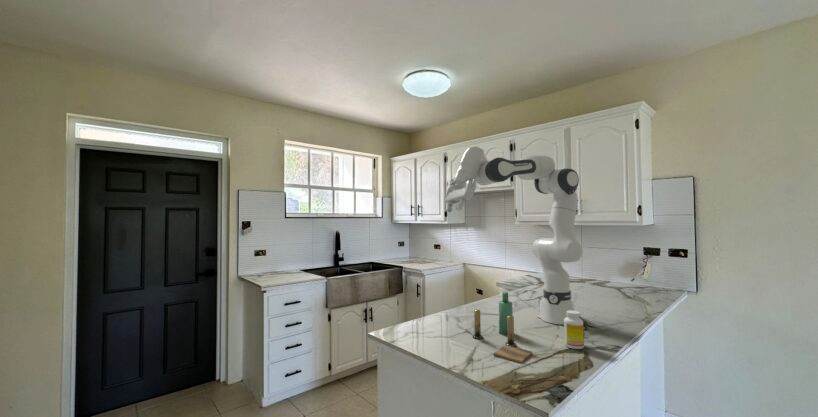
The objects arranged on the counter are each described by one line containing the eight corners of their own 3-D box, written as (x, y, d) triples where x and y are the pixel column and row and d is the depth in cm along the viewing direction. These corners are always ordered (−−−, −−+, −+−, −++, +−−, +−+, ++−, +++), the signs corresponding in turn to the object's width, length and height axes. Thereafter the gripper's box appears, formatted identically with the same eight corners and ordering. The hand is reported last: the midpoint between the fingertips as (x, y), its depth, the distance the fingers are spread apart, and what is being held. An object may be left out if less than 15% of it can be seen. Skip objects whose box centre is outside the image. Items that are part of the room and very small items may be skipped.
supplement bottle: (587, 349, 121) (586, 314, 122) (569, 349, 122) (568, 314, 122) (578, 343, 128) (577, 309, 129) (561, 343, 128) (560, 309, 129)
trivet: (505, 347, 124) (505, 345, 124) (532, 353, 118) (531, 351, 118) (493, 355, 117) (493, 353, 117) (521, 363, 110) (521, 360, 110)
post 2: (507, 342, 129) (507, 314, 129) (518, 345, 126) (517, 316, 127) (503, 345, 126) (503, 316, 126) (514, 348, 123) (513, 318, 124)
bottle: (502, 330, 144) (501, 290, 144) (515, 332, 140) (514, 292, 141) (496, 333, 139) (496, 292, 140) (509, 336, 136) (509, 294, 136)
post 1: (475, 335, 138) (475, 308, 138) (484, 337, 135) (483, 309, 136) (470, 337, 135) (470, 310, 135) (479, 339, 132) (479, 312, 132)
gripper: (482, 180, 133) (471, 211, 130) (459, 188, 152) (449, 215, 149) (469, 173, 131) (458, 205, 128) (448, 182, 150) (437, 209, 148)
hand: (453, 210), depth 139 cm, fingers open, 8 cm apart
